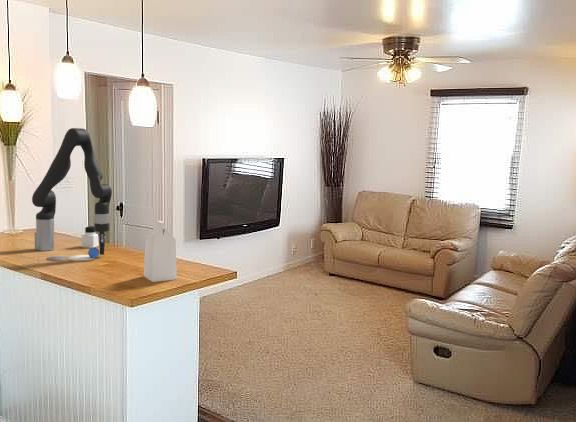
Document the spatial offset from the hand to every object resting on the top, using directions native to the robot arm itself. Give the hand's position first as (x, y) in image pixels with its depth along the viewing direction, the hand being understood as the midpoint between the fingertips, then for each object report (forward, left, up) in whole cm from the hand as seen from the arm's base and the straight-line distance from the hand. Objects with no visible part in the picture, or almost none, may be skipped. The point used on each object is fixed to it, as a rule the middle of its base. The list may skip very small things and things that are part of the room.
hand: (101, 254), depth 294 cm
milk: (+46, -33, -2) cm, 57 cm away
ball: (-3, -3, +1) cm, 5 cm away
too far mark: (-19, -11, -2) cm, 22 cm away
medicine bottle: (-21, +25, -2) cm, 32 cm away
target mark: (-9, -5, -2) cm, 10 cm away
